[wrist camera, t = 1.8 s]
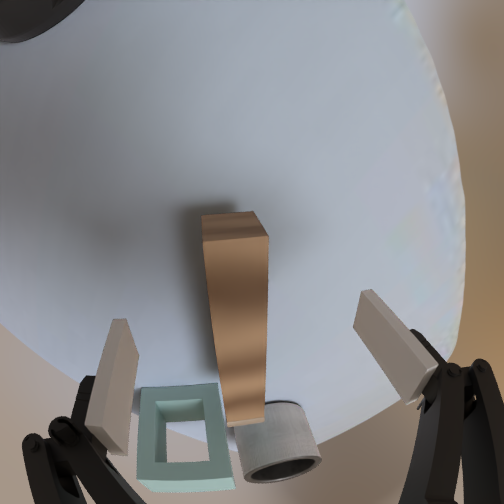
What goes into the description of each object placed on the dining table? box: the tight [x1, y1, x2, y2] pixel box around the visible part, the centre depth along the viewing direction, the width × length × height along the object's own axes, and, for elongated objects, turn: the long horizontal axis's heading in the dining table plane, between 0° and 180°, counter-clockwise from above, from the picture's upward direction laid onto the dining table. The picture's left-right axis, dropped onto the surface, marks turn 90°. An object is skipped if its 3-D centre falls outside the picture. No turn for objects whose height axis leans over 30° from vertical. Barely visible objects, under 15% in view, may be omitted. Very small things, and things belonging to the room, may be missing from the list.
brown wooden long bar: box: [201, 211, 269, 427], centre depth 24 cm, size 22×4×5 cm, turn 1°
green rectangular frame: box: [137, 383, 236, 492], centre depth 30 cm, size 6×11×14 cm, turn 91°
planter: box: [234, 402, 322, 483], centre depth 38 cm, size 13×12×11 cm
